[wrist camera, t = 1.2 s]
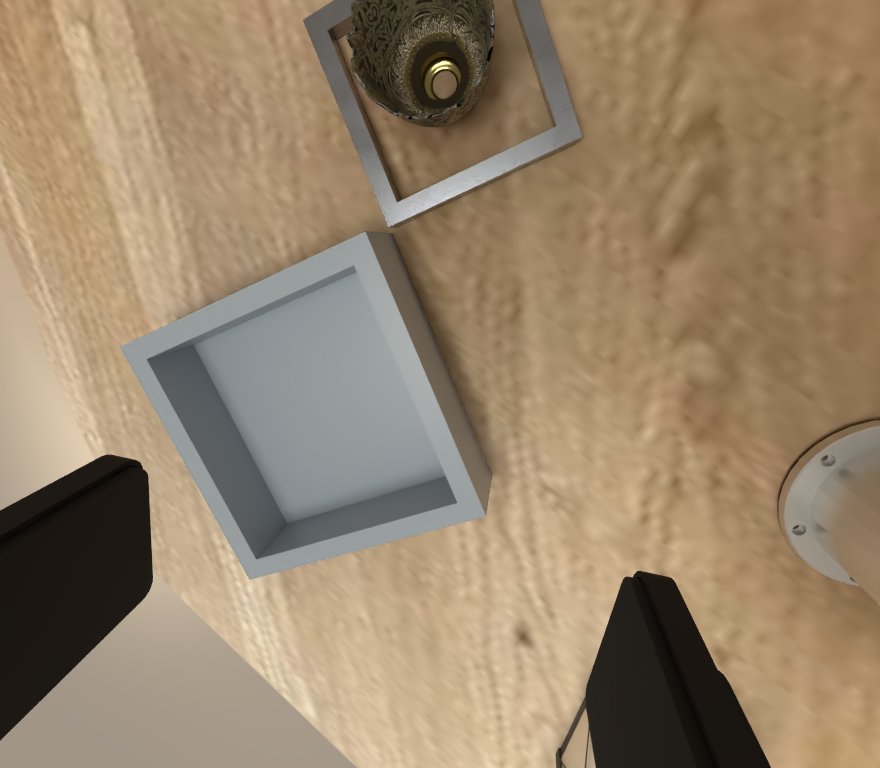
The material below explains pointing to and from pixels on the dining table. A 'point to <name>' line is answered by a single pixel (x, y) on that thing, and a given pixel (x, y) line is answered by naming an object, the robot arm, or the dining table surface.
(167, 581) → the dining table surface
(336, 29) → the square metal frame
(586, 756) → the lantern
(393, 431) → the bin
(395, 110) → the dark bronze rounded piece
